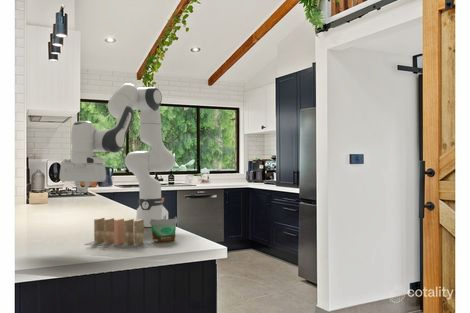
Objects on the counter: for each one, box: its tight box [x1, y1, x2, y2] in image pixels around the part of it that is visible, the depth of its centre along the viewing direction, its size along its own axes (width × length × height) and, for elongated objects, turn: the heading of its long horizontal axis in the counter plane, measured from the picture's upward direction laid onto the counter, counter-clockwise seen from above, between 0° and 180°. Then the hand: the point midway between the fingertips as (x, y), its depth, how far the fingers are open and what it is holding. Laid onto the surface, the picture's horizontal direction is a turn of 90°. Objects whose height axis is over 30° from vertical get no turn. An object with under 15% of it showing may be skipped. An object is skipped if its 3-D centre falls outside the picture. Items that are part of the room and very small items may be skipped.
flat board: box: [83, 241, 154, 249], centre depth 169 cm, size 10×26×1 cm, turn 75°
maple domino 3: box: [124, 218, 135, 246], centre depth 168 cm, size 2×5×10 cm, turn 165°
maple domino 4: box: [134, 219, 145, 246], centre depth 167 cm, size 2×5×10 cm, turn 165°
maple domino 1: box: [93, 217, 105, 244], centre depth 171 cm, size 2×5×10 cm, turn 165°
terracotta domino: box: [114, 218, 125, 245], centre depth 169 cm, size 2×5×10 cm, turn 166°
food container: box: [150, 216, 179, 244], centre depth 173 cm, size 12×6×10 cm, turn 126°
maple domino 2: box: [104, 217, 115, 245], centre depth 170 cm, size 2×5×10 cm, turn 165°
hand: (82, 192), depth 173 cm, fingers closed
